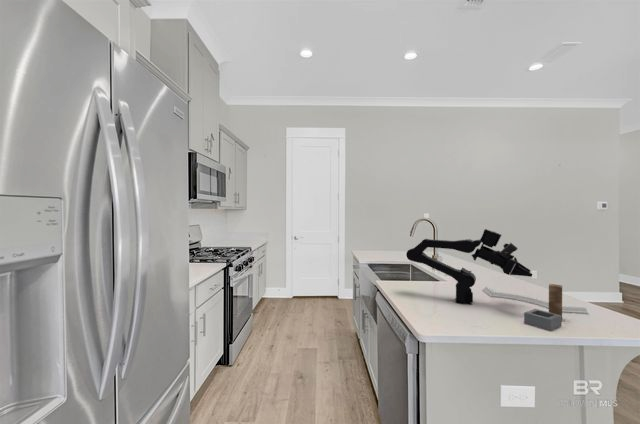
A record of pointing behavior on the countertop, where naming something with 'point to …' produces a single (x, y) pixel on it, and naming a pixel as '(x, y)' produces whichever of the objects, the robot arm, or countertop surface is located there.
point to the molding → (533, 301)
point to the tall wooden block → (555, 299)
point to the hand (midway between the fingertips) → (531, 273)
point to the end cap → (543, 319)
